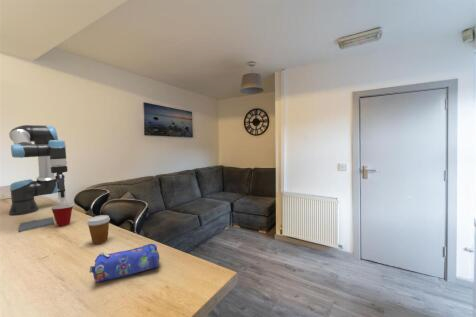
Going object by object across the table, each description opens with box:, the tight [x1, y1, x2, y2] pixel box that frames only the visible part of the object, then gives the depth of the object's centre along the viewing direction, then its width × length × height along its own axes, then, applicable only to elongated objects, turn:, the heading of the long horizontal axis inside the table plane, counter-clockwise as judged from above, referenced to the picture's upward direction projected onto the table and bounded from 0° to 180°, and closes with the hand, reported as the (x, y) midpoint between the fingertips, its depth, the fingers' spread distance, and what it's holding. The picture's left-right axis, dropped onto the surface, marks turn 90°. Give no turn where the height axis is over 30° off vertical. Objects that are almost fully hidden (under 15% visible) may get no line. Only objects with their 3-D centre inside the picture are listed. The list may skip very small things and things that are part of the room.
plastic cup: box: [50, 204, 75, 228], centre depth 127 cm, size 11×11×12 cm
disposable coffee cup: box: [86, 214, 111, 245], centre depth 103 cm, size 10×10×12 cm
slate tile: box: [18, 216, 55, 233], centre depth 128 cm, size 15×15×1 cm
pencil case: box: [89, 243, 160, 282], centre depth 77 cm, size 22×9×10 cm, turn 113°
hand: (62, 200), depth 126 cm, fingers open, 13 cm apart
